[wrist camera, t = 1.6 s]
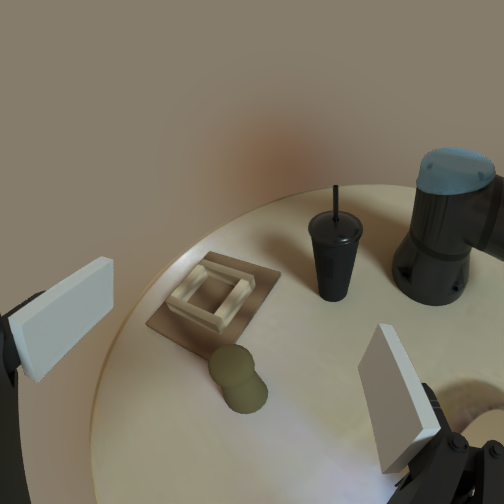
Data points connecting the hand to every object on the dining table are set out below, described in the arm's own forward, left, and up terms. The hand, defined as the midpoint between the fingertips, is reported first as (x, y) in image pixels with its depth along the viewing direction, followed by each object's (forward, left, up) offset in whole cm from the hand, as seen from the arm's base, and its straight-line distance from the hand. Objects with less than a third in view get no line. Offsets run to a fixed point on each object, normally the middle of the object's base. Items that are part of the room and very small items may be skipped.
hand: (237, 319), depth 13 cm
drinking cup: (-26, -4, -28) cm, 38 cm away
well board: (-16, -22, -28) cm, 39 cm away
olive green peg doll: (-4, -8, -28) cm, 30 cm away
